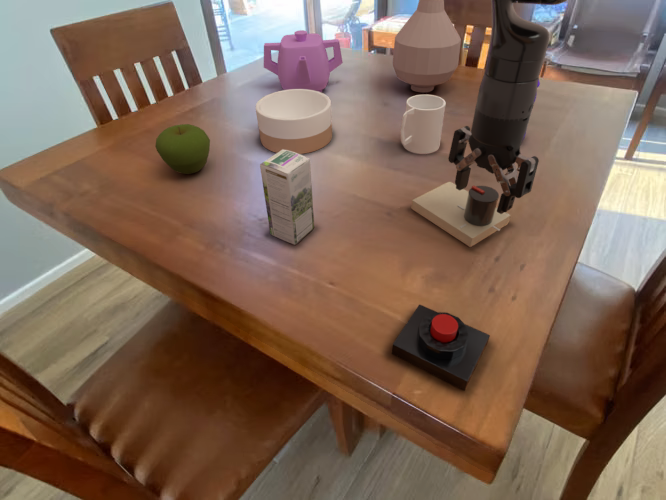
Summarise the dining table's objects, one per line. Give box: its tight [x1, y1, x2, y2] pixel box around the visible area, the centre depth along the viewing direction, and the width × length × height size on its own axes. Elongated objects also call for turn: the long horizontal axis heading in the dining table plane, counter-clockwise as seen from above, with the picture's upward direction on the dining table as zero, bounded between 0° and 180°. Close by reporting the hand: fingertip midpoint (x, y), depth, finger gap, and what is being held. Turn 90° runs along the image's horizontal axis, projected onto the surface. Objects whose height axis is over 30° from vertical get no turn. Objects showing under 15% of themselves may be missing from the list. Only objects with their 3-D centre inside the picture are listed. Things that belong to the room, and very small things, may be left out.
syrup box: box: [259, 149, 315, 246], centre depth 72 cm, size 6×6×14 cm
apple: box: [154, 123, 211, 175], centre depth 90 cm, size 11×10×10 cm
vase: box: [392, 0, 462, 93], centre depth 113 cm, size 18×18×30 cm
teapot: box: [263, 29, 344, 93], centre depth 122 cm, size 19×18×15 cm
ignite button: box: [430, 314, 458, 343], centre depth 54 cm, size 3×3×2 cm
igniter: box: [391, 304, 491, 391], centre depth 56 cm, size 10×8×4 cm
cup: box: [399, 93, 447, 155], centre depth 94 cm, size 8×12×10 cm
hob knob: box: [464, 185, 500, 226], centre depth 73 cm, size 5×5×5 cm
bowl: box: [255, 89, 333, 155], centre depth 101 cm, size 17×17×8 cm
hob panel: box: [411, 181, 512, 248], centre depth 77 cm, size 16×10×2 cm, turn 36°
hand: (481, 199), depth 72 cm, fingers open, 8 cm apart
